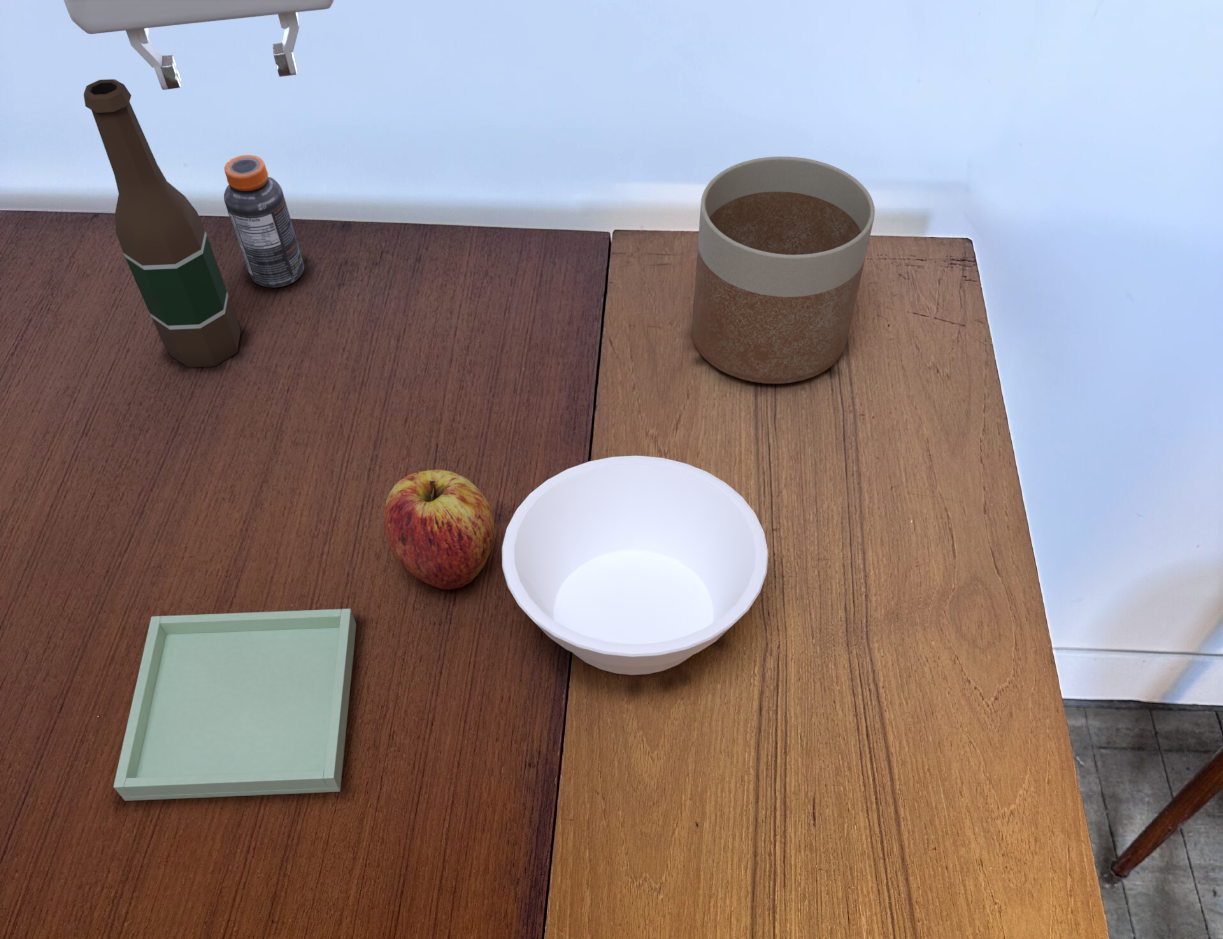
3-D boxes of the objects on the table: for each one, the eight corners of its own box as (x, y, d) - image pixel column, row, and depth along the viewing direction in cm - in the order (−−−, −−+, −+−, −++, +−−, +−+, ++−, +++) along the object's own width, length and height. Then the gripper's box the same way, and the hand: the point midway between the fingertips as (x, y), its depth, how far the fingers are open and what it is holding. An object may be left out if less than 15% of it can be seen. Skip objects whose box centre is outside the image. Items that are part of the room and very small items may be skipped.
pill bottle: (277, 249, 112) (244, 140, 102) (316, 268, 111) (287, 159, 101) (238, 276, 110) (201, 168, 100) (277, 296, 108) (243, 187, 98)
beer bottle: (220, 377, 102) (118, 118, 81) (153, 361, 103) (35, 102, 82) (257, 330, 106) (168, 71, 85) (192, 315, 107) (88, 56, 86)
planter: (659, 335, 105) (665, 200, 93) (765, 271, 110) (783, 136, 98) (771, 412, 99) (792, 279, 87) (877, 341, 104) (911, 206, 92)
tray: (124, 801, 78) (112, 787, 76) (161, 632, 86) (151, 616, 84) (340, 791, 78) (333, 777, 77) (356, 624, 86) (350, 608, 85)
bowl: (782, 698, 83) (798, 633, 75) (526, 734, 81) (518, 671, 74) (726, 512, 93) (735, 440, 85) (497, 541, 91) (487, 470, 84)
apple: (379, 592, 88) (352, 506, 79) (425, 521, 92) (405, 432, 83) (473, 622, 87) (457, 537, 78) (516, 548, 91) (505, 460, 82)
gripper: (310, -172, 74) (353, 46, 86) (20, -147, 72) (106, 73, 84) (315, -137, 71) (360, 84, 83) (13, -109, 69) (103, 113, 81)
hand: (230, 79), depth 83 cm, fingers open, 8 cm apart
